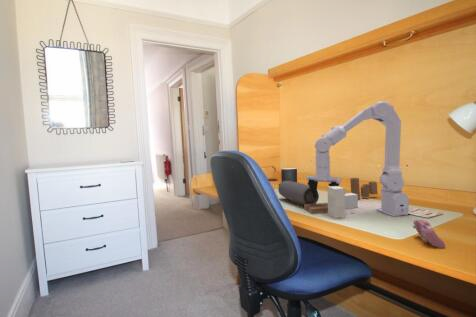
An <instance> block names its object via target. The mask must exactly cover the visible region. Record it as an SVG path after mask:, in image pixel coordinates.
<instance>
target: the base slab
mask: <svg viewBox="0 0 476 317" xmlns="http://www.w3.org/2000/svg"><path fill="white" fill-rule="evenodd" d="M303 207H304V210H305V211H306V212H308V213H310V214H311V215H315V214H317V215H318V214H328V202H321V203H318V202H317V203H316V204H305V205H303Z"/></svg>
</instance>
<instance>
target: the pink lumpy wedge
mask: <svg viewBox="0 0 476 317" xmlns="http://www.w3.org/2000/svg"><path fill="white" fill-rule="evenodd" d="M412 228H413V229H414V230H416V232H417V234H418V236H419V238H420V239H421V240H422V241H423V242H424V243H425V244H431V245H432V246H433V247H434V248H438V249H445V248H446V243H445V242H444V241H443V240H442V239H441V237H440V236H439V235H438V234H437V233H436V231H435V230H434V228H433V227H432V225H431V223H430V222H429V221H427V220H424V219H416V220H413V225H412Z"/></svg>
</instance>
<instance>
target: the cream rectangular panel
mask: <svg viewBox="0 0 476 317" xmlns="http://www.w3.org/2000/svg"><path fill="white" fill-rule="evenodd" d="M355 214H356V213H354V212H352V211H350V212H349V211H348V212H345V215H355Z"/></svg>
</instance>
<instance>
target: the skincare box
mask: <svg viewBox="0 0 476 317" xmlns="http://www.w3.org/2000/svg"><path fill="white" fill-rule="evenodd" d="M345 194H346V188H345V187H341V186H340V185H339V186H329V185H328V186H327V203H328V213H327V215H328V216H329V217H330V218H333V219H335V220H340V219H346V214H345V213H346V209H345Z"/></svg>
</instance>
